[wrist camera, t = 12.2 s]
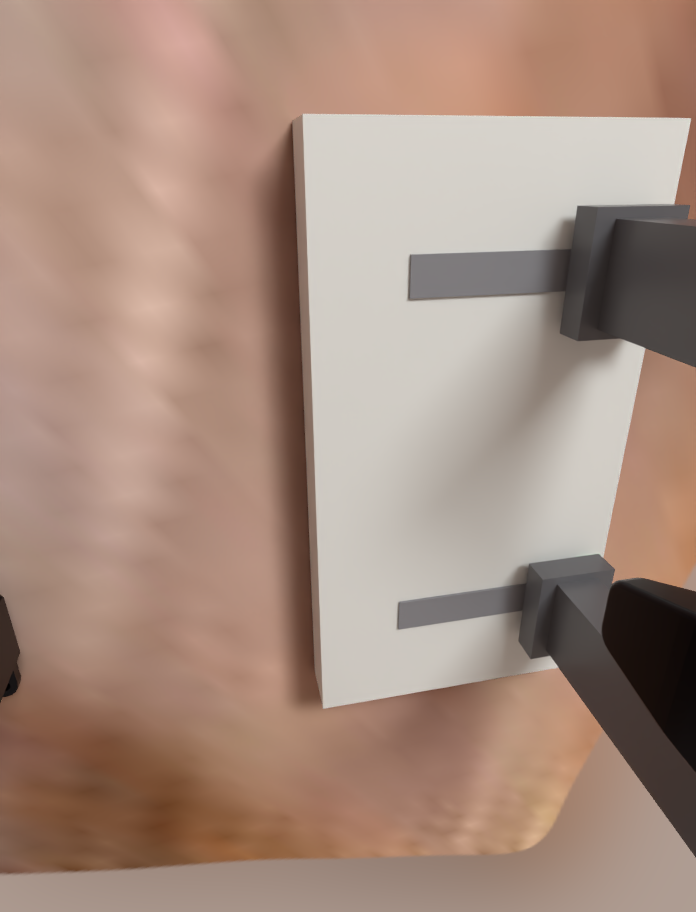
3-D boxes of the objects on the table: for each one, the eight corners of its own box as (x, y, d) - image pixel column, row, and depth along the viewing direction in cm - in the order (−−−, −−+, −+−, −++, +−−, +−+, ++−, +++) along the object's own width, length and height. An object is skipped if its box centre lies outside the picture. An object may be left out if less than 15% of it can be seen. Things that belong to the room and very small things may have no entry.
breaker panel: (314, 671, 25) (323, 710, 23) (292, 120, 17) (303, 113, 15) (557, 631, 27) (583, 665, 25) (645, 123, 19) (693, 118, 17)
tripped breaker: (518, 641, 23) (679, 880, 15) (528, 563, 22) (714, 783, 14) (583, 630, 24) (773, 856, 16) (598, 553, 22) (816, 760, 14)
